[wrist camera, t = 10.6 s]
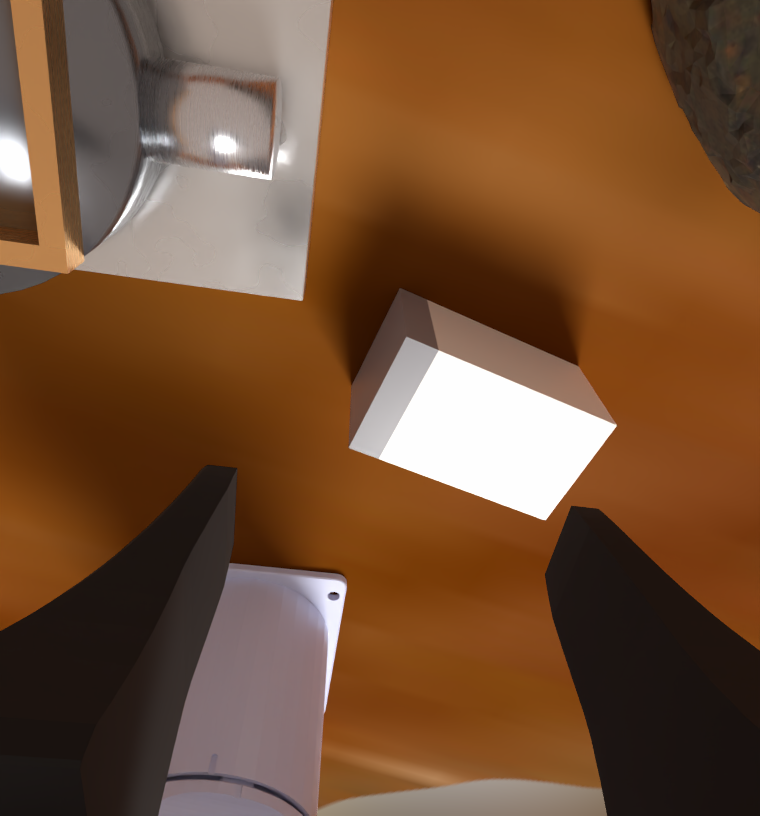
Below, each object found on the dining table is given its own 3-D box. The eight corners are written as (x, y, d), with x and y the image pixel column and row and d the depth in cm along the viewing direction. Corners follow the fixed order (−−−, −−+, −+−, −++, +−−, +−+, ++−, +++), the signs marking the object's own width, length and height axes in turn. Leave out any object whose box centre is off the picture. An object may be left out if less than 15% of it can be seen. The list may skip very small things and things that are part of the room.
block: (545, 520, 21) (348, 447, 19) (519, 451, 24) (351, 385, 23) (616, 425, 19) (406, 336, 17) (578, 365, 22) (400, 287, 21)
